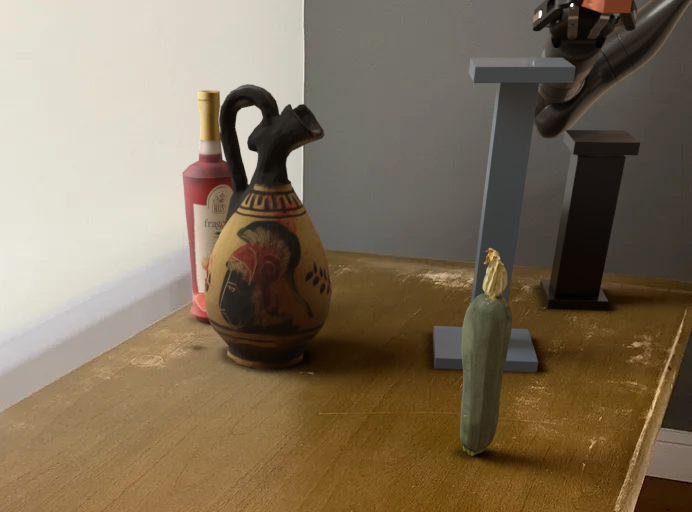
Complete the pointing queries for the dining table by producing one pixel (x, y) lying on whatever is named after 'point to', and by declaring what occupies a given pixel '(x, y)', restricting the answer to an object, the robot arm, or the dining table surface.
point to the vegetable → (484, 358)
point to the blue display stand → (504, 188)
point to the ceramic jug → (267, 242)
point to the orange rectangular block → (608, 5)
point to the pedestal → (587, 218)
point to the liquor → (206, 197)
